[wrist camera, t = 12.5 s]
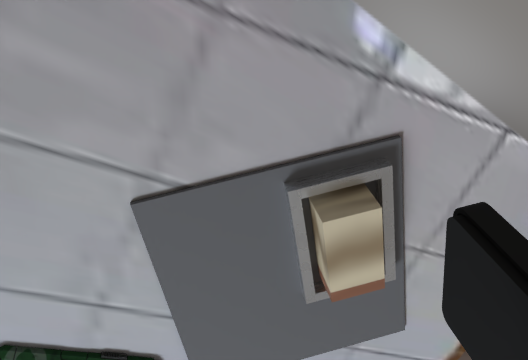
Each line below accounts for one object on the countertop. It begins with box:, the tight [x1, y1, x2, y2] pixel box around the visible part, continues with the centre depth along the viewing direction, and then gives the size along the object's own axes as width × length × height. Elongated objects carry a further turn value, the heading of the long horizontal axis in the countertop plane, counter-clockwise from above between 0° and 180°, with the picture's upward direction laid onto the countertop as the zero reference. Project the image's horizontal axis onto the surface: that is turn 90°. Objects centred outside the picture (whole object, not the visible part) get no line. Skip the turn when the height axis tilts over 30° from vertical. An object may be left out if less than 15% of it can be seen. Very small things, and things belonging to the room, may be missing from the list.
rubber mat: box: [131, 136, 405, 360], centre depth 48 cm, size 23×24×1 cm
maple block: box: [309, 183, 385, 302], centre depth 44 cm, size 9×5×4 cm, turn 9°
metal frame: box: [284, 157, 396, 304], centre depth 45 cm, size 9×13×2 cm
